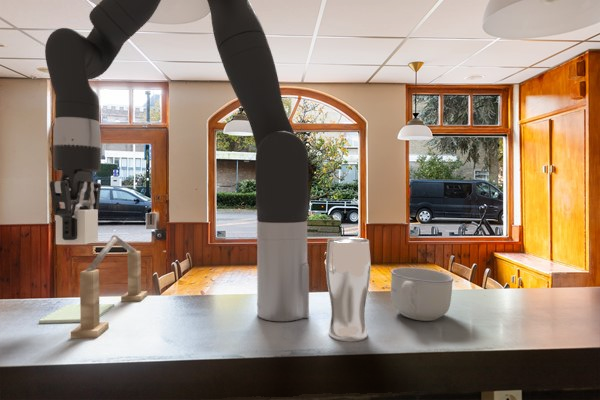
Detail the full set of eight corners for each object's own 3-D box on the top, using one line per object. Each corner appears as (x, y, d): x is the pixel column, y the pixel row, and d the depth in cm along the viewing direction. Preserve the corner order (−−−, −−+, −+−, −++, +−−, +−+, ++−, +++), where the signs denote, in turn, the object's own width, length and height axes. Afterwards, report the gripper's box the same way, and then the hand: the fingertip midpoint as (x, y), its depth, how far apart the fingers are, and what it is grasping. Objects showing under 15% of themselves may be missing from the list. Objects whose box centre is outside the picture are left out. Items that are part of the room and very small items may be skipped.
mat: (114, 306, 75) (114, 303, 75) (93, 321, 66) (93, 318, 66) (66, 307, 74) (66, 305, 74) (38, 323, 65) (38, 320, 65)
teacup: (409, 303, 77) (409, 264, 77) (463, 315, 69) (463, 272, 69) (369, 319, 67) (369, 274, 67) (426, 336, 59) (426, 285, 59)
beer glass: (369, 344, 56) (370, 243, 56) (323, 341, 57) (323, 242, 57) (370, 328, 63) (370, 237, 62) (328, 325, 64) (328, 236, 64)
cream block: (97, 240, 73) (97, 209, 72) (85, 244, 68) (85, 210, 68) (70, 240, 72) (70, 209, 72) (55, 244, 67) (55, 210, 67)
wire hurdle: (147, 295, 83) (146, 229, 83) (97, 337, 59) (96, 243, 59) (128, 296, 83) (127, 229, 82) (70, 338, 59) (69, 243, 58)
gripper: (79, 140, 63) (79, 243, 63) (114, 150, 77) (114, 233, 77) (31, 139, 62) (32, 243, 62) (76, 149, 76) (76, 233, 77)
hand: (77, 237), depth 70 cm, fingers closed on cream block, 5 cm apart
